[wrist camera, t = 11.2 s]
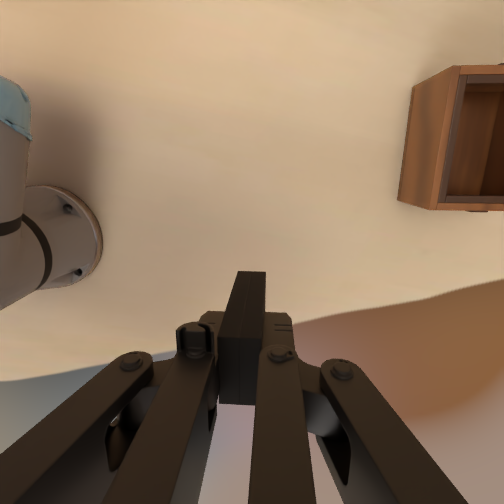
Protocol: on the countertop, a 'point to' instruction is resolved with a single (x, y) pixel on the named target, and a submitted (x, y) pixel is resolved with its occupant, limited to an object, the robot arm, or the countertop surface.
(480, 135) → the wooden storage crate
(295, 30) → the countertop surface
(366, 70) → the countertop surface
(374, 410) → the robot arm
